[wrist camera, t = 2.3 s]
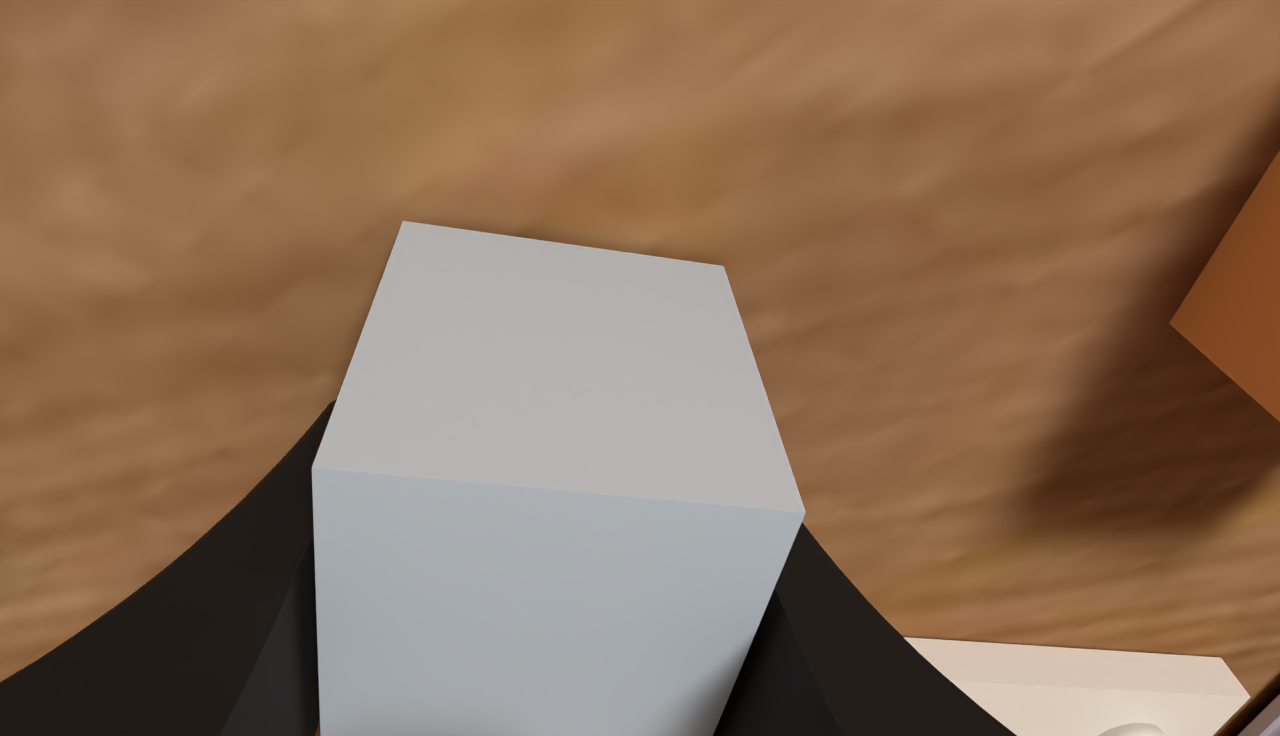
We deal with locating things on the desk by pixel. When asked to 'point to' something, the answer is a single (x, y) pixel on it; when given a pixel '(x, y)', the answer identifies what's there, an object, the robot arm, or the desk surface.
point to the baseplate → (1089, 688)
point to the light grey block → (544, 496)
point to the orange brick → (1242, 298)
